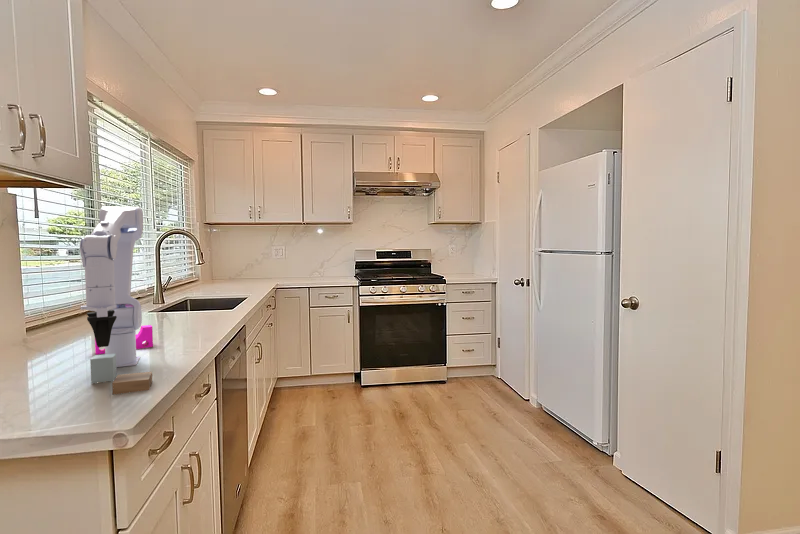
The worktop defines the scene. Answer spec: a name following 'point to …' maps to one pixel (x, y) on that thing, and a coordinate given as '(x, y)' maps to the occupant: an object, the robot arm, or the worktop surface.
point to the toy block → (137, 339)
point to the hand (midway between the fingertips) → (102, 343)
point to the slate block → (103, 368)
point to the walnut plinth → (132, 382)
